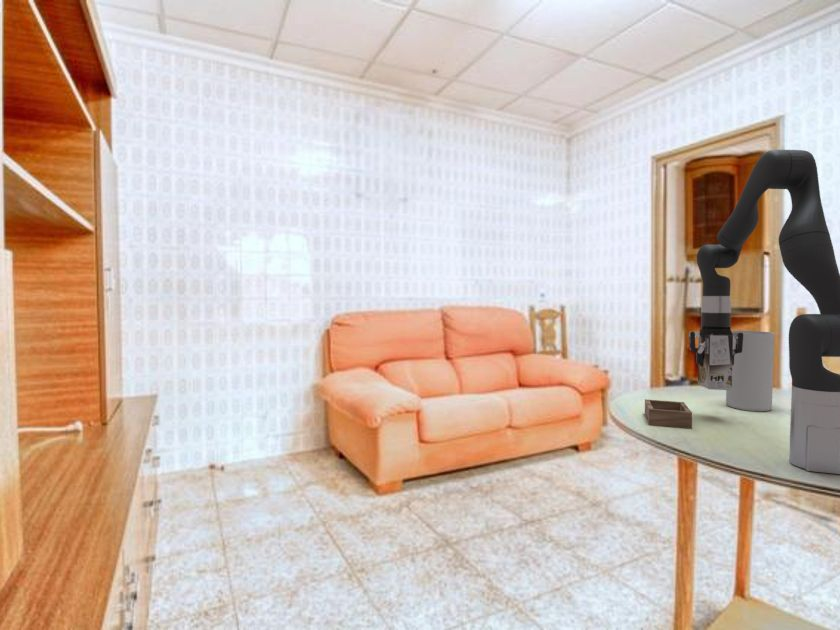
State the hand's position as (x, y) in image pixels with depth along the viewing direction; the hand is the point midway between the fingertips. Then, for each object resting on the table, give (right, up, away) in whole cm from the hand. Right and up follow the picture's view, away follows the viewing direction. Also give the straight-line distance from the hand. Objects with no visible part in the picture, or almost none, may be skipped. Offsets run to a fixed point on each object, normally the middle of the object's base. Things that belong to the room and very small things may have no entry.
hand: (714, 366), depth 142 cm
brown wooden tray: (-15, -16, -2) cm, 22 cm away
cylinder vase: (+20, -15, +15) cm, 29 cm away
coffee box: (0, -7, 0) cm, 7 cm away
